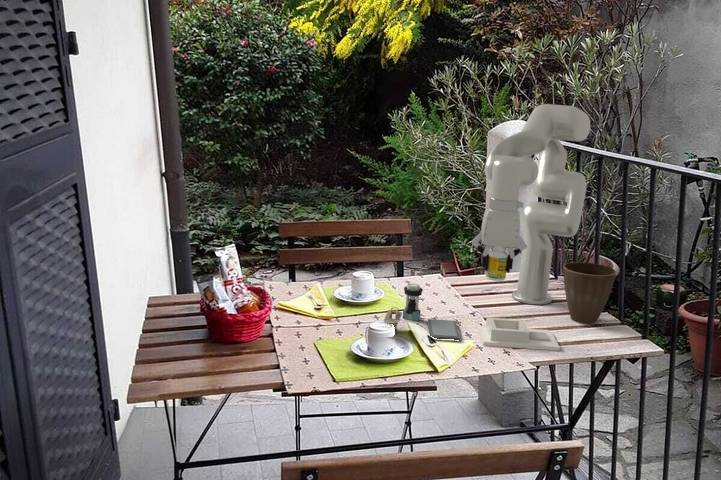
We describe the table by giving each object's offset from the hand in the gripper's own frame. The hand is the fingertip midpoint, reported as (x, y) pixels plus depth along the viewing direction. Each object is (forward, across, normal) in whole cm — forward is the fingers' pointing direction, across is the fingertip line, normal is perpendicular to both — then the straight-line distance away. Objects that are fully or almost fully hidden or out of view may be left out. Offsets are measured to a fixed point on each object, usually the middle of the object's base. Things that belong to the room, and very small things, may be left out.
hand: (496, 269), depth 201 cm
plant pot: (+18, -29, -17) cm, 38 cm away
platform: (+18, +27, +7) cm, 34 cm away
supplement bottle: (+3, 0, 0) cm, 3 cm away
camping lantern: (+18, +22, -5) cm, 28 cm away
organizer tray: (+18, -7, +5) cm, 20 cm away
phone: (+18, +13, +4) cm, 22 cm away
